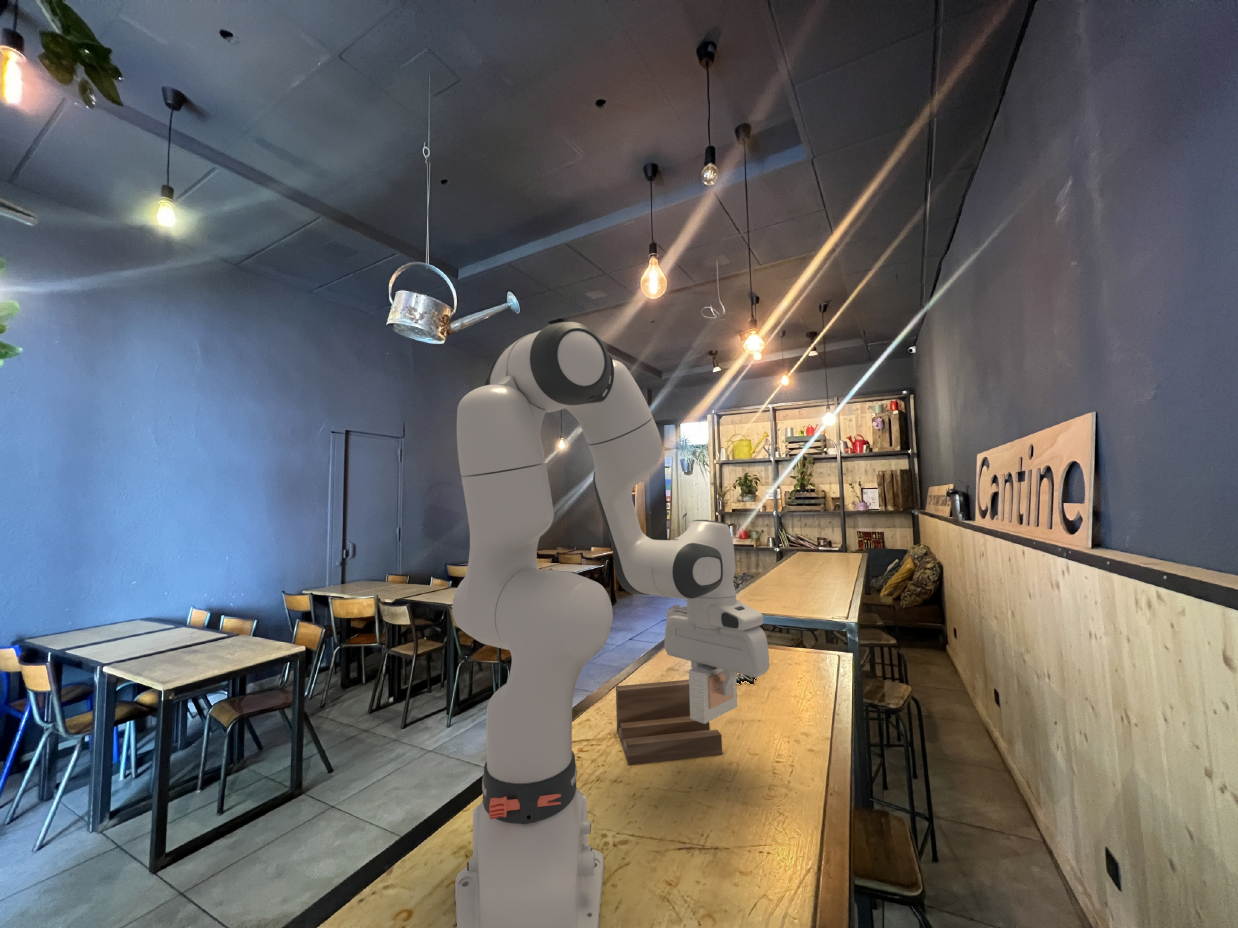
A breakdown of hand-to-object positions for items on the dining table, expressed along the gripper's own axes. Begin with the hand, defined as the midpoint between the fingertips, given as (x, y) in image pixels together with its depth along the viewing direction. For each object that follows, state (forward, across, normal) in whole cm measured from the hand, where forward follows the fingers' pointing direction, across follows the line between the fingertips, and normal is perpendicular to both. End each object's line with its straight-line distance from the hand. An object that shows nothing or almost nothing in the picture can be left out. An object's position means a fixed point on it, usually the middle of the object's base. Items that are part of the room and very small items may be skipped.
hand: (714, 690), depth 85 cm
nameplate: (+14, -22, +36) cm, 44 cm away
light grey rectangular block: (+4, 0, 0) cm, 4 cm away
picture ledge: (+14, -14, +4) cm, 20 cm away
